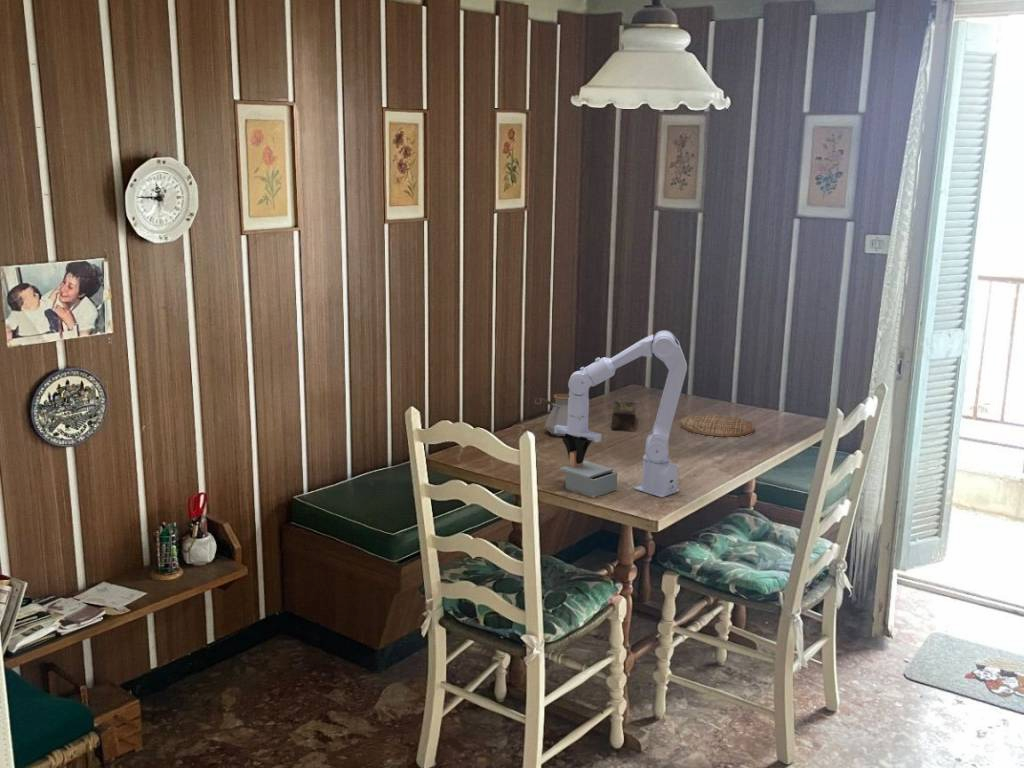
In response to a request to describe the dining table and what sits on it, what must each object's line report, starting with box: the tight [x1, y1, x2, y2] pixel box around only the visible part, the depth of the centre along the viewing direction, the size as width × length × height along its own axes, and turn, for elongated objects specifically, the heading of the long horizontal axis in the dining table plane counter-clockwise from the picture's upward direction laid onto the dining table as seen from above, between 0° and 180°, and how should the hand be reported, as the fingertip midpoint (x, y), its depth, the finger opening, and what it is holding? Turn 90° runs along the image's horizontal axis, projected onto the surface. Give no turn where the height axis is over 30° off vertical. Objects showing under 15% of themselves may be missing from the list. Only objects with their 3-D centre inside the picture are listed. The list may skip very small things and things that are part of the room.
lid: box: [559, 451, 614, 479], centre depth 278 cm, size 10×10×5 cm
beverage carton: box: [611, 400, 637, 432], centre depth 348 cm, size 8×19×7 cm, turn 172°
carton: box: [564, 470, 618, 499], centre depth 278 cm, size 10×10×5 cm
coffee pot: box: [534, 393, 569, 437], centre depth 329 cm, size 21×12×15 cm, turn 145°
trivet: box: [679, 414, 756, 438], centre depth 346 cm, size 25×25×2 cm
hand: (576, 462), depth 281 cm, fingers closed on lid, 2 cm apart
